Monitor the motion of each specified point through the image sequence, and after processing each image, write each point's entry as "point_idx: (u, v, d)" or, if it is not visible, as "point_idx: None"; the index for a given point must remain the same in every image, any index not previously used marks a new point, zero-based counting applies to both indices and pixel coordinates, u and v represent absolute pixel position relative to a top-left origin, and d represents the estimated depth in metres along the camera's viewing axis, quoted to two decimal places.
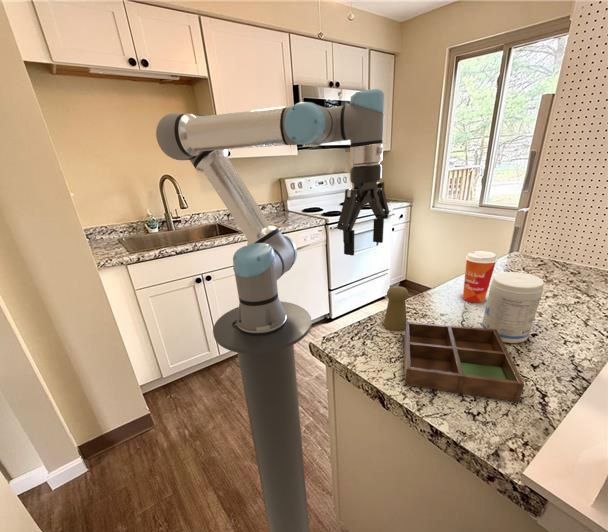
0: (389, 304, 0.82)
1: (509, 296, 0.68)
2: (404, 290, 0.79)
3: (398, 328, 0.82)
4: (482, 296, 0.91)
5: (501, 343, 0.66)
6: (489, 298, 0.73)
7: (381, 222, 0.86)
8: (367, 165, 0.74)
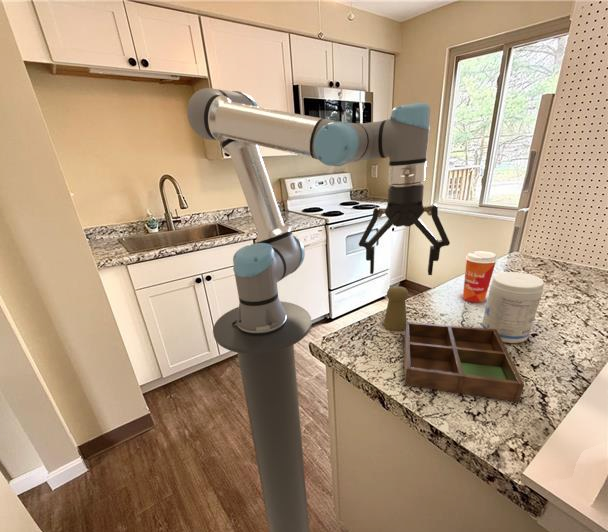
0: (389, 304, 0.82)
1: (509, 296, 0.68)
2: (404, 290, 0.79)
3: (398, 328, 0.82)
4: (482, 296, 0.91)
5: (501, 343, 0.66)
6: (489, 298, 0.73)
7: (431, 251, 0.73)
8: (394, 186, 0.69)
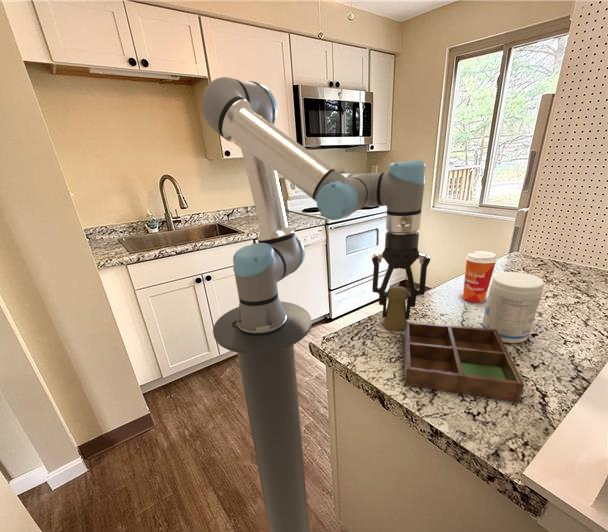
0: (389, 304, 0.82)
1: (509, 296, 0.68)
2: (404, 290, 0.79)
3: (398, 328, 0.82)
4: (482, 296, 0.91)
5: (501, 343, 0.66)
6: (489, 298, 0.73)
7: (408, 299, 0.80)
8: (391, 233, 0.73)
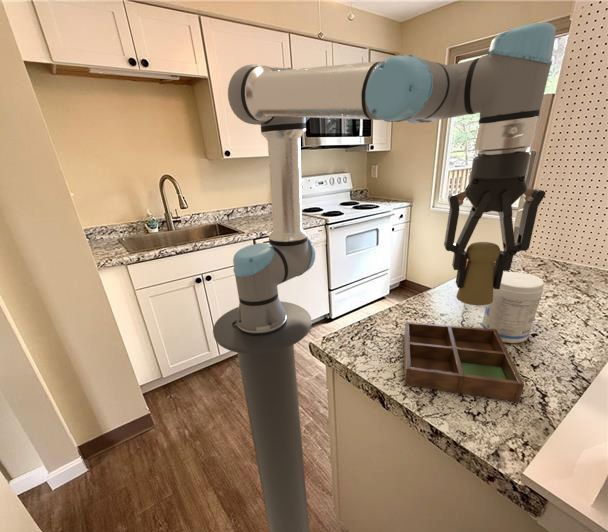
0: (470, 268, 0.57)
1: (509, 296, 0.68)
2: (495, 245, 0.54)
3: (483, 302, 0.57)
4: None
5: (501, 343, 0.66)
6: None
7: (500, 258, 0.55)
8: (487, 153, 0.48)
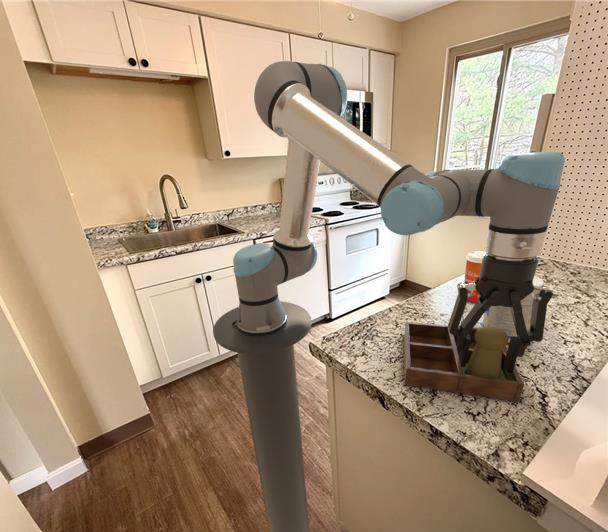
0: (478, 351, 0.59)
1: None
2: (503, 334, 0.57)
3: None
4: None
5: None
6: None
7: (514, 346, 0.57)
8: (497, 258, 0.51)
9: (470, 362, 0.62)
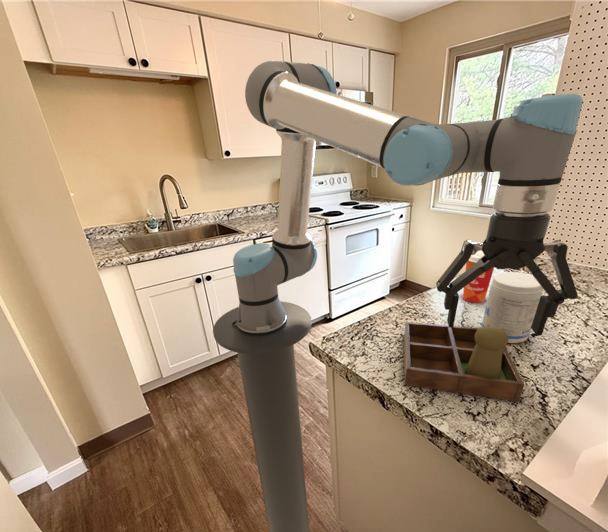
0: (478, 351, 0.59)
1: (509, 296, 0.68)
2: (503, 334, 0.57)
3: None
4: (482, 296, 0.91)
5: None
6: (489, 298, 0.73)
7: (545, 305, 0.52)
8: (506, 215, 0.48)
9: (470, 362, 0.62)
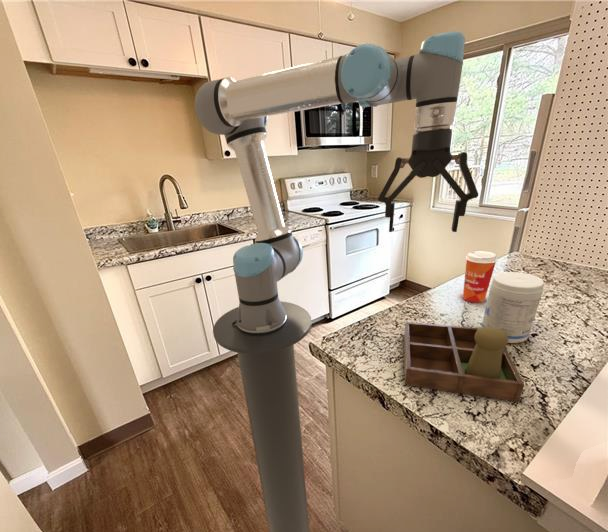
0: (478, 351, 0.59)
1: (509, 296, 0.68)
2: (503, 334, 0.57)
3: None
4: (482, 296, 0.91)
5: None
6: (489, 298, 0.73)
7: (457, 205, 0.68)
8: (421, 130, 0.64)
9: (470, 362, 0.62)
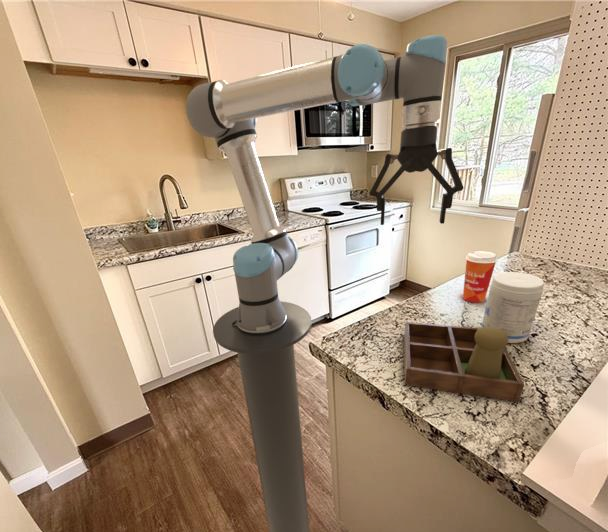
0: (478, 351, 0.59)
1: (509, 296, 0.68)
2: (503, 334, 0.57)
3: None
4: (482, 296, 0.91)
5: None
6: (489, 298, 0.73)
7: (443, 198, 0.72)
8: (408, 127, 0.67)
9: (470, 362, 0.62)
